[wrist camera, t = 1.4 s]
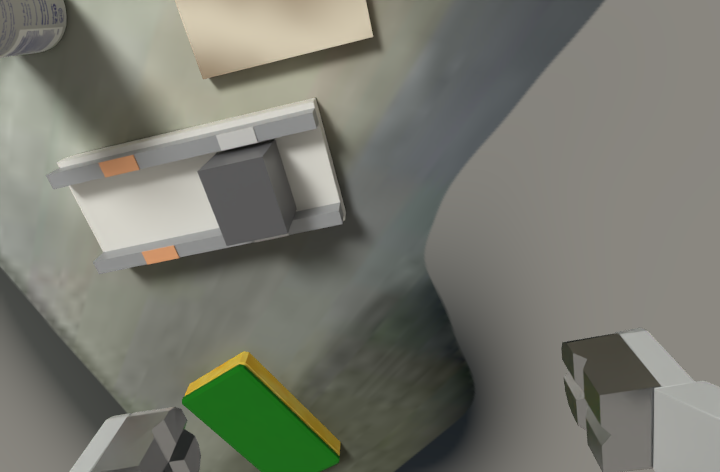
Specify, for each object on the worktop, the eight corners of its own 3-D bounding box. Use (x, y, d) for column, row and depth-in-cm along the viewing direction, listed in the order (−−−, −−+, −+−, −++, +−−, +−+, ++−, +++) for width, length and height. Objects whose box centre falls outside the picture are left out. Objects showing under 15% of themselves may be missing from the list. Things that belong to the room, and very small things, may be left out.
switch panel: (69, 156, 33) (41, 169, 31) (315, 97, 31) (310, 106, 28) (121, 258, 37) (101, 279, 34) (345, 212, 35) (344, 229, 32)
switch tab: (217, 152, 31) (197, 171, 28) (275, 139, 31) (262, 156, 27) (242, 220, 33) (226, 246, 30) (296, 208, 33) (287, 233, 29)
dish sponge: (286, 468, 48) (282, 491, 45) (188, 382, 43) (178, 402, 41) (342, 440, 46) (341, 462, 43) (247, 346, 41) (240, 366, 39)
